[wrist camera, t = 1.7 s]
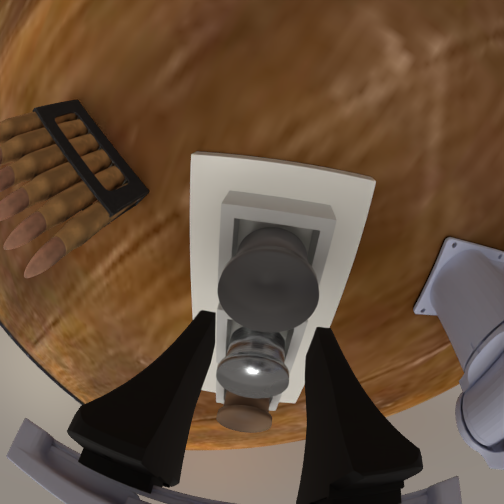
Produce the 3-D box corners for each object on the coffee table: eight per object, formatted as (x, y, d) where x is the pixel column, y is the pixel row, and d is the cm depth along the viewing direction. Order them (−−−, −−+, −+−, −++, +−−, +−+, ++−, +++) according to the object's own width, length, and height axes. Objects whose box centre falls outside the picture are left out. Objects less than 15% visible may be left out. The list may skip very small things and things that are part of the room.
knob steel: (296, 325, 20) (296, 365, 16) (283, 366, 22) (281, 401, 19) (226, 316, 20) (216, 354, 17) (224, 357, 22) (216, 392, 19)
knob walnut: (278, 382, 24) (275, 415, 20) (270, 406, 26) (267, 434, 23) (223, 374, 24) (216, 407, 21) (222, 399, 26) (216, 427, 23)
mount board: (370, 176, 17) (388, 193, 14) (295, 395, 31) (294, 420, 27) (196, 151, 17) (177, 162, 14) (200, 381, 31) (194, 405, 28)
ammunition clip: (65, 115, 16) (-53, 153, 6) (77, 98, 16) (-48, 128, 5) (135, 205, 20) (33, 298, 10) (150, 191, 19) (41, 284, 9)
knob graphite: (322, 227, 15) (330, 261, 12) (304, 297, 18) (306, 337, 15) (233, 214, 16) (219, 245, 13) (228, 286, 18) (216, 324, 15)
